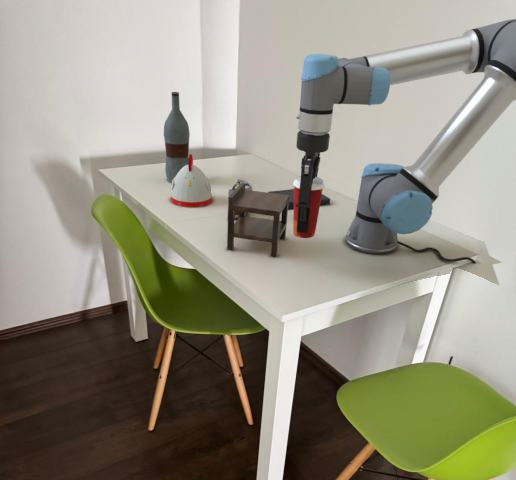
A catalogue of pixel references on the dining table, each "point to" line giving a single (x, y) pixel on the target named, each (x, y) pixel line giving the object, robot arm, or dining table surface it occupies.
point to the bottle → (176, 140)
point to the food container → (239, 181)
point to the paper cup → (314, 206)
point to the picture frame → (290, 192)
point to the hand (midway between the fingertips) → (304, 226)
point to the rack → (252, 225)
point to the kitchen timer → (191, 187)
